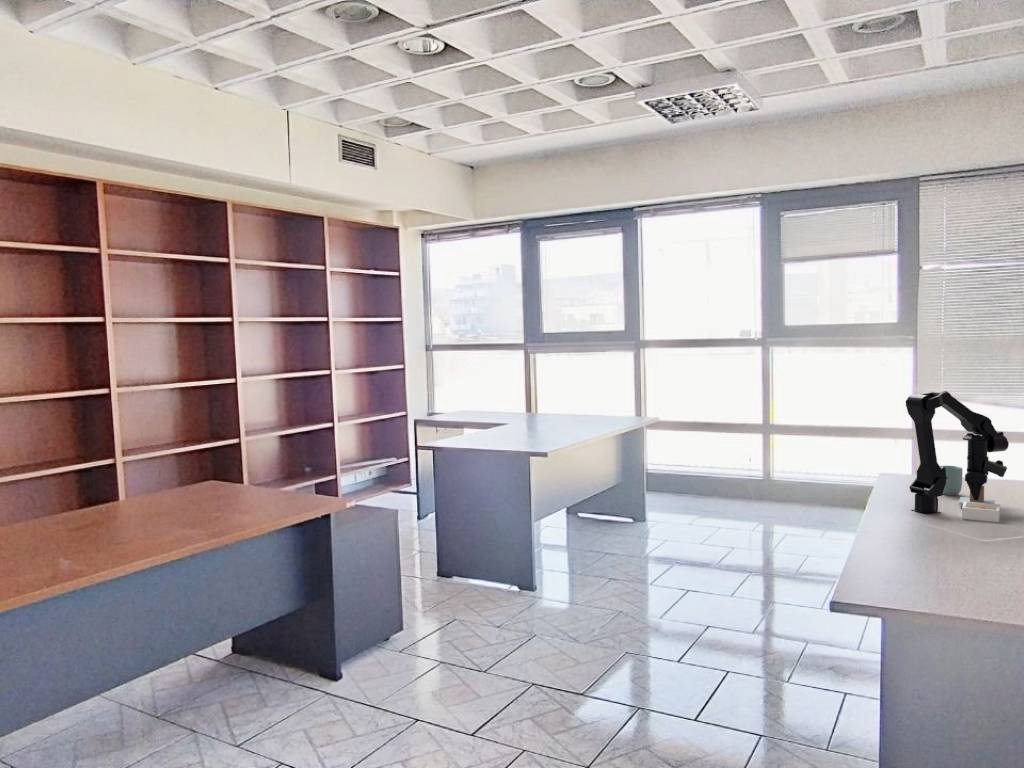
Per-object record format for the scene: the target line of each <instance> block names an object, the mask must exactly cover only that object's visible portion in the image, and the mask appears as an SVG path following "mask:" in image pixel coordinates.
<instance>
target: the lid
mask: <svg viewBox="0 0 1024 768" xmlns="http://www.w3.org/2000/svg"><path fill="white" fill-rule="evenodd" d="M995 501H996V499H991V498H990V499H989V498H985V485H982V486H981V490H980V494H979V499H978V500H974V498H973V496H972V493H971V491H970V490H969V497H967V496H960V497H959V502H958V505H959V506H963V503H964V502H976V503H988V504H996V503H995Z"/></svg>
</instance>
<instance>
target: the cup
mask: <svg viewBox="0 0 1024 768" xmlns="http://www.w3.org/2000/svg"><path fill="white" fill-rule="evenodd" d="M940 466H941V467H945V469H946V477H947V479H946V485H945V487H944V491H943V494H942V495H944V496H945V495H946V496H957V495H959V494H960V493H961V492H962V487H963V467H961V466H956V465H940Z"/></svg>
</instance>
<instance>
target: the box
mask: <svg viewBox="0 0 1024 768" xmlns="http://www.w3.org/2000/svg"><path fill="white" fill-rule="evenodd" d="M961 506H962V507H961V519H963V520H974V521H983V522H984V521H985V522H996V523H999V522H1000V518H1001V517H1000V516H1001V512H1000V511H1001V507H1000V506H1001V505H1000V504H999V503H998V504H997V503H994V504H988V503H976V502H964V503H963V505H961ZM979 506H983V507H985V508H986V509H979V508H977V507H979Z"/></svg>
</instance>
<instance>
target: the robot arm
mask: <svg viewBox="0 0 1024 768" xmlns="http://www.w3.org/2000/svg"><path fill="white" fill-rule="evenodd" d="M905 407H906V410H907V414H908V415H909V416H910V418H911V419H912V421H913V422H914V427H915V434H916V435H915V436H916V442H917V449H918V455H919V466H918V468H917V470H916V478H915V479H914V480H913V482H912V483H911V484H910V485H909V490H910V493H914V509H911V510H910V511H911V512H916V513H919V514H922V515H936V514H941V513H942V512H941V511H939V499H938V498H939V497H942V496H943V495H944V494H943V491H944V487H945V485H946V479H947V477H946V469H945V467H941V466H942V465H940V464H939V462H938V459H937V453H936V452H937V451H936V443H935V437H934V430H933V423H932V420H933V419H934V416H935V414H936V409H938V408H941V407H942V408H943V409H945V410H946V411H947V412H949V414H951V415H952V416H954V417H955V418H956V419H958V420H959V421H960V424H961V426H962V427H963V428H964V430H965V431H967V433H966V435H964V436H963V437H962V440H964V441H967V455H966V458H967V459H966V462H967V467H966V473H965V474H964V481H965V482H966V484H967V486H968V488H969V492H970V491H971V493H972V496H973V498H974V500H978V499H979V494H980V490H981V486H985V484H987V483H988V478H989V477H988V476H989V473H991V474H994V475H997V476H998V477H1000V478H1004V477H1005V474H1006V472H1007V469H1008V467H1007V466H1006V465H1004V461H1002V460H1000V459H998V460H996V461H992V460H990V459H989V456H988V453H996V452H997V453H998V452H1005V451H1007V449H1008V448H1009V446H1010V443H1009V440H1008V438H1007V437H1006V436H1005V435H1004V431H997V430H996V429H995V426H994V425H993V424H992V420H991V418H989V417H988V416H986V415H984V414H981V413H979V412H975V411H973V410H971V409H970V408H969V407H968V406H966V405H964V404H963V403H962V402H961V401H959V400H958V399H956V397H954V396H952V395H951V393H950V392H949V391H946V390H934V391H931V392H925V393H920V394H917V393H915V394H910V395H909V396H908V397H907V399H906V400H905Z"/></svg>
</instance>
